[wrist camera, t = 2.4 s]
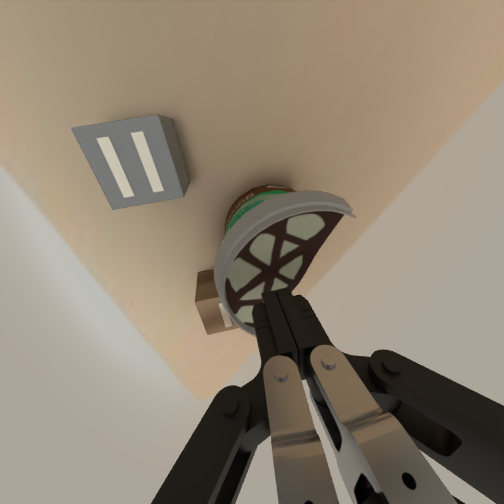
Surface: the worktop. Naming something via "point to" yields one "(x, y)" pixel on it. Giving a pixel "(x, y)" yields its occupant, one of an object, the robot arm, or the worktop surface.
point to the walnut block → (211, 305)
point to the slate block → (135, 160)
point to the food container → (271, 244)
